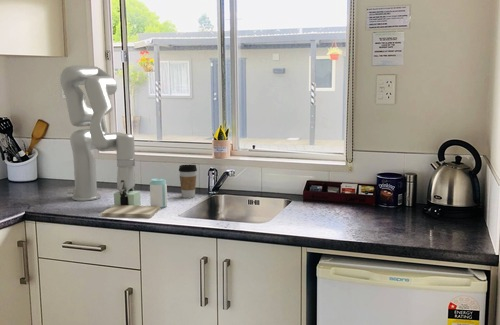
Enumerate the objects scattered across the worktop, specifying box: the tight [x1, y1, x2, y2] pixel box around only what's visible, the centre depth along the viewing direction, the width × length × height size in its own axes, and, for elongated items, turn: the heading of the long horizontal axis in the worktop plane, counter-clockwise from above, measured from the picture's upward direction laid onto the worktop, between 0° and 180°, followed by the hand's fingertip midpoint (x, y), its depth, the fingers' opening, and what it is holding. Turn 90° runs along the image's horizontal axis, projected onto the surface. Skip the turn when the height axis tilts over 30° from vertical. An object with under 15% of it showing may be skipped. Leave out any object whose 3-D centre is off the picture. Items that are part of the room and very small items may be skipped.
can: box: [149, 177, 168, 209], centre depth 234 cm, size 7×7×12 cm
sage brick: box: [113, 190, 142, 206], centre depth 236 cm, size 9×7×6 cm
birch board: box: [101, 204, 161, 219], centre depth 224 cm, size 20×14×2 cm
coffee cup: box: [178, 164, 198, 199], centre depth 254 cm, size 8×8×15 cm
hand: (127, 203), depth 236 cm, fingers closed on sage brick, 7 cm apart
